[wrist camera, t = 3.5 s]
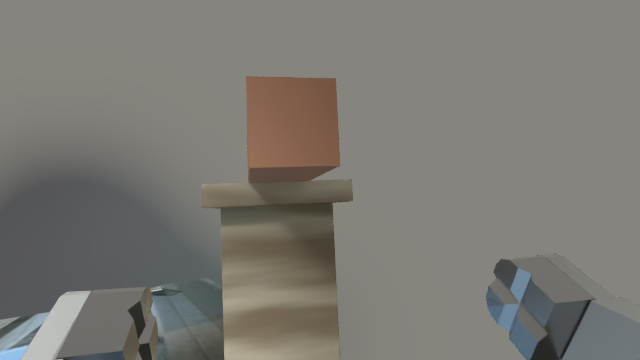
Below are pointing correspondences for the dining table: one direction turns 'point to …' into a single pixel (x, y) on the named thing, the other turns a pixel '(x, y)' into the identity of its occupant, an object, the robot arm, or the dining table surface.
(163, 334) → the dining table surface
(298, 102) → the block
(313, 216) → the shelf stand
